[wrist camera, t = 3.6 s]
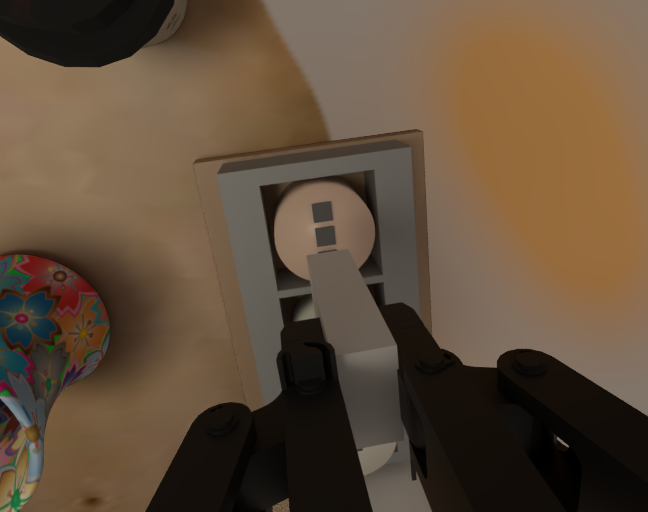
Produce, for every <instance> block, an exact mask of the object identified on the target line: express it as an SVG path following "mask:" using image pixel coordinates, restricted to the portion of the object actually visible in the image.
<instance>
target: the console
mask: <svg viewBox="0 0 648 512" xmlns="http://www.w3.org/2000/svg"><path fill="white" fill-rule="evenodd" d="M193 168H194V172H195V177H196V181H197V185H198V190H199V194H200V199H201V203H202V208H203V212H204V217H205V221H206V226H207V230H208V235H209V239H210V244H211V248H212V253H213V257H214V261H215V266H216V270H217V275H218V279H219V284H220V288H221V293H222V297H223V302H224V306H225V311H226V315H227V320H228V324H229V329H230V333H231V337H232V342H233V346H234V351H235V355H236V360H237V364H238V369H239V373H240V378H241V382H242V387H243V391H244V396H245V400H246V405H247V407H249V409H250V410H251V412H252V411H255V410H257V409H260V408H262V407H264V406H266V405H268V404H269V403H271V402H272V401H273V400H275V399H276V398H277V397H278V395H279V394H280V393H281V391H282V389H281V383H280V378H279V373H278V367H277V362H276V358H277V355H278V353H279V352H280V351H281V336H280V332H281V331H282V329H283V328H284V326H285V324H286V323H288V322H291V317H292V313H293V310H294V307H295V305H296V304H297V302H298V301H299V299H300V298H301V297H302V296H303V295H304V294H311V293H312V291H311V284H310V280H306V279H304V278H301V277H299V276H298V275H296V274H294V273H293V272H292V271H290V270H289V269H288V268H287V267H286V266H285V264H284V263H283V262H282V260H281V258H280V257H279V255H278V252H277V250H276V245H275V238H274V211H275V206H276V203H277V201H278V198H279V196H280V195H281V193H282V192H283V190H284V189H285V188H286V187H287V186H288V185H289V184H290V183H292V182H293V181H298V180H305V179H312V178H319V177H326V176H332V175H334V176H337V177H339V178H341V179H343V180H344V181H346V182H347V183H348V184H349V185H351V186H352V188H353V189H354V190H355V191H356V192H357V194H358V195H359V196H360V198H361V199H362V200H363V202H364V203H365V204H366V206H367V207H368V209H369V210H370V213H371V215H372V217H373V221H374V225H375V240H374V244H373V248H372V250H371V253H370V255H369V256H368V258H367V260H366V261H365V262H364V264H363V265H362V266H361V267H360V268H359V269H358V270H359V272H360V274H361V276H362V277H363V279H364V281H365V283H366V285H367V287H368V289H369V291H370V293H371V295H372V297H373V299H374V301H375V303H376V305H377V306H382V305H388V304H394V303H400V302H403V303H404V304H406V305H408V306H410V307H412V308H413V309H414V310H415V311H416V313H417V314H418V316H419V317H420V319H421V320H422V322H423V323H424V326H425V327H426V328H427V329H428V331H429V332H430V334H431V335H432V323H431V301H430V279H429V255H428V233H427V211H426V189H425V168H424V145H423V131H420V130H417V129H415V130H407V131H400V132H393V133H386V134H378V135H372V136H364V137H358V138H350V139H343V140H335V141H328V142H321V143H314V144H307V145H300V146H293V147H285V148H278V149H271V150H264V151H257V152H250V153H242V154H235V155H228V156H221V157H214V158H207V159H200V160H196V161H195V162H194V163H193ZM403 429H404V440H403V441H398V442H396V447H395V450H394V452H393V454H392V456H391V457H390V458H389V460H388V461H387V462H386V463H385V464H391V463H396V462H402V461H408V460H410V450H409V437H408V435H407V432H406V430H405V427H404V425H403ZM385 464H384V465H385Z"/></svg>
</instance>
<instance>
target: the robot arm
mask: <svg viewBox="0 0 648 512" xmlns="http://www.w3.org/2000/svg"><path fill="white" fill-rule="evenodd" d="M306 257H307V264H308V271H309V277H310V284H311V291H312V298H313V305H314V311H315V318H312V319H306V320H300V321H294V322H288V323H286V324H285V326H284V328H283V329H282V331H281V332H280V336H281V351H280V352H279V353H278V355H277V358H276V362H277V367H278V373H279V378H280V383H281V389H282V391H281V393H280V394H279V395H278V397H277V398H276V399H275V400H273V401H272V402H271V403H269V404H268V405H266V406H264V407H262V408H260V409H257V410H255V411H252V412H251V410H250V409H249V407H247V406H245V405H243V404H241V403H234V402H229V403H222V404H218V405H216V406H213V407H211V408H208V409H207V410H205V411H204V412H203V413H201V414H200V415H199V416H198V417H197V418H196V419H195V421H194V422H193V423H192V425H191V427H190V429H189V431H188V432H187V434H186V436H185V438H184V440H183V442H182V444H181V446H180V447H179V449H178V451H177V453H176V455H175V457H174V459H173V461H172V463H171V464H170V466H169V468H168V470H167V472H166V474H165V476H164V478H163V479H162V481H161V483H160V485H159V487H158V489H157V491H156V493H155V495H154V496H153V498H152V500H151V502H150V504H149V506H148V508H147V510H146V511H145V512H272V506H273V505H275V504H277V503H279V502H281V501H283V500H285V499H287V498H289V508H290V512H373V510H372V506H371V502H370V498H369V495H368V491H367V487H366V483H365V479H364V475H363V471H362V468H361V464H360V460H359V456H358V452H357V449H361V448H366V447H371V446H377V445H382V444H387V443H393V442H398V441H403V440H404V429H403V425H404V427H405V430H406V432H407V435H408V437H409V450H410V464H411V476H412V481H414V480H417V477H416V472H417V475H418V477H419V480H420V482H421V485H422V487H423V490H424V492H425V495H426V498H427V500H428V503H429V505H430V508H431V510H432V512H648V416H646V415H645V414H643V413H641V412H640V411H639V410H637V409H635V408H633V407H632V406H631V405H629V404H627V403H626V402H624V401H623V400H621V399H619V398H618V397H616V396H614V395H613V394H611V393H610V392H608V391H607V390H605V389H603V388H602V387H600V386H598V385H597V384H595V383H593V382H592V381H591V380H589V379H587V378H586V377H584V376H583V375H581V374H579V373H578V372H576V371H575V370H573V369H571V368H569V367H568V366H567V365H565V364H563V363H562V362H560V361H559V360H557V359H555V358H554V357H552V356H550V355H548V354H545V353H543V352H541V351H536V350H532V349H515V350H511V351H507V352H505V353H504V354H502V355H500V357H499V359H498V360H497V368H489V367H488V368H487V367H471V366H466V365H463V363H462V362H461V361H460V359H459V358H458V357H457V356H456V355H455V354H453V353H451V352H449V351H447V350H444V349H440V347H439V346H438V344H437V343H436V341H435V340H434V338H433V337H432V335H431V334H430V332H429V331H428V329H427V328H426V327H425V326H424V323H423V322H422V320H421V319H420V317H419V316H418V314H417V313H416V311H415V310H414V309H413V308H412V307H410V306H408V305H406V304H404V303H403V302H400V303H394V304H388V305H382V306H377V305H376V303H375V301H374V299H373V297H372V295H371V293H370V291H369V289H368V287H367V285H366V283H365V281H364V279H363V277H362V276H361V274H360V272H359V270H358V268H357V266H356V264H355V262H354V260H353V258H352V256H351V254H350V252H349V250H348V249H343V250H337V251H331V252H325V253H318V254H312V255H306ZM557 437H559V438H560V439H561V440H563V441H564V442H565V443H566V444H568V446H569V448H568V447H566V446H565V445H563V444H562V443H561V442H559V441H558V440H557Z"/></svg>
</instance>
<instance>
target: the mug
mask: <svg viewBox="0 0 648 512" xmlns="http://www.w3.org/2000/svg"><path fill="white" fill-rule="evenodd" d="M109 339H110V323H109V318H108V314H107V311H106V309H105V306H104V304H103V302H102V300H101V299H100V297H99V296H98V294H97V293H96V291H95V290H94V289H93V288H92V287H91V286H90V285H89V283H88V282H86V281H85V280H84V279H83V278H82V277H81V276H79V275H78V274H77V273H75V272H74V271H72V270H71V269H69V268H67V267H65V266H63V265H61V264H59V263H57V262H54V261H52V260H48V259H45V258H41V257H37V256H31V255H4V256H0V512H18V511H19V510H20V509H21V508H22V507H23V506H24V505H25V504H26V503H27V502H28V500H29V499H30V498H31V496H32V494H33V493H34V491H35V489H36V487H37V485H38V483H39V481H40V477H41V474H42V469H43V463H44V432H45V427H46V422H47V418H48V416H49V413H50V410H51V408H52V406H53V404H54V402H55V400H56V399H57V397H58V396H59V394H60V393H61V392H62V391H63V389H64V388H66V387H67V386H69V385H72V384H74V383H76V382H78V381H80V380H81V379H83V378H85V377H86V376H87V375H88V374H90V373H91V372H92V371H93V370H94V369H95V368H96V367H97V366H98V365H99V363H100V362H101V360H102V359H103V357H104V355H105V353H106V351H107V348H108V344H109Z"/></svg>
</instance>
